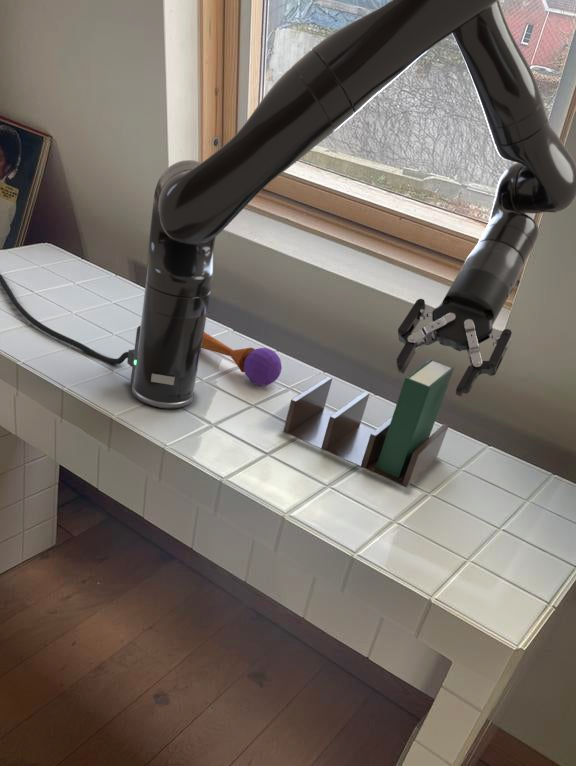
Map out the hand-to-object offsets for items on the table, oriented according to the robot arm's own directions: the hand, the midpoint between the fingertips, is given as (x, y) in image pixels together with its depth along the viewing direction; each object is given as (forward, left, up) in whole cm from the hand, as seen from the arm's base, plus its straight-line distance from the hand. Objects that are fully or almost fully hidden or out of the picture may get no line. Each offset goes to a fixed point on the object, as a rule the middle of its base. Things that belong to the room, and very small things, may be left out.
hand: (429, 381), depth 112 cm
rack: (-5, -3, -13) cm, 15 cm away
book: (0, -1, -12) cm, 12 cm away
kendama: (-35, -5, -13) cm, 38 cm away
